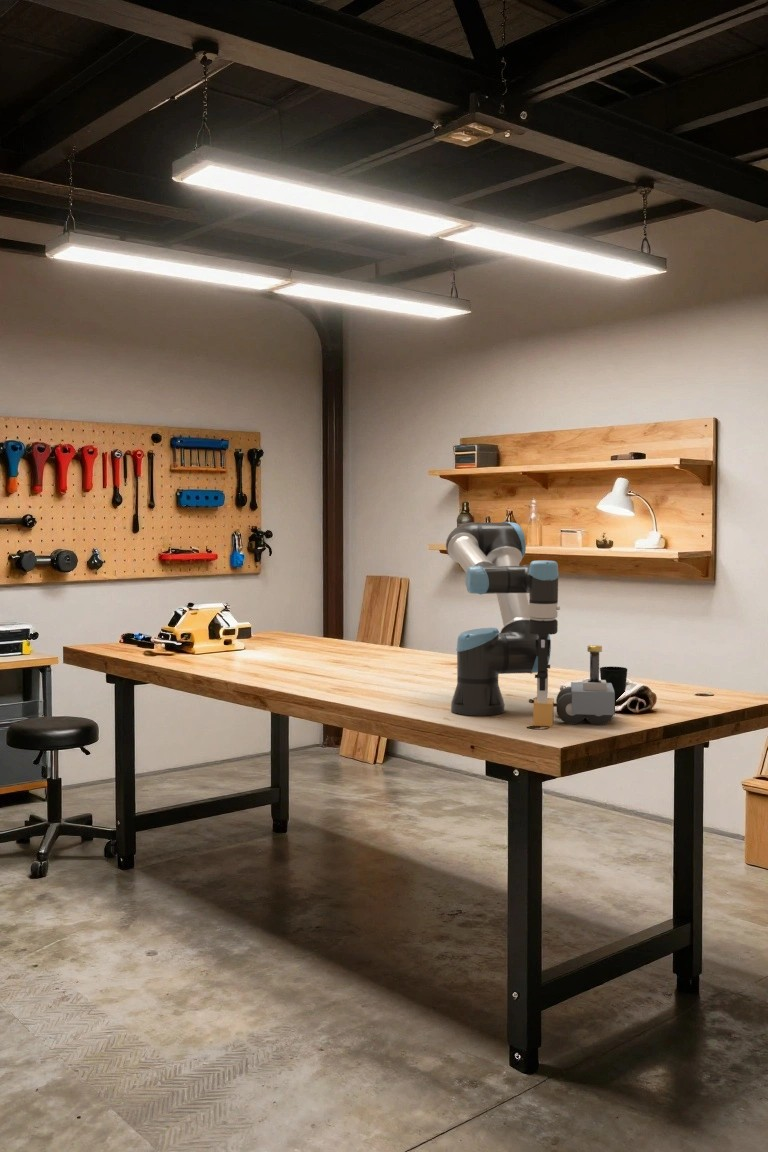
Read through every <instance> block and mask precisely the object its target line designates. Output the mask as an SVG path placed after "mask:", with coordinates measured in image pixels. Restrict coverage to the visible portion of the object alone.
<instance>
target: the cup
mask: <svg viewBox="0 0 768 1152" xmlns="http://www.w3.org/2000/svg"><path fill="white" fill-rule="evenodd" d="M627 676H628V668H627V667H623V666H602V667H601V666H600V667H599V678H600V680H606V683H612V686H613V689H614V692H615V702H616V700H617V699H618V698H619V697H620V696H621V695H622V694H623V693H624V692H625V693H626V688H627V687H626V686H627V679H628V677H627ZM615 704H616V703H615Z"/></svg>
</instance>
